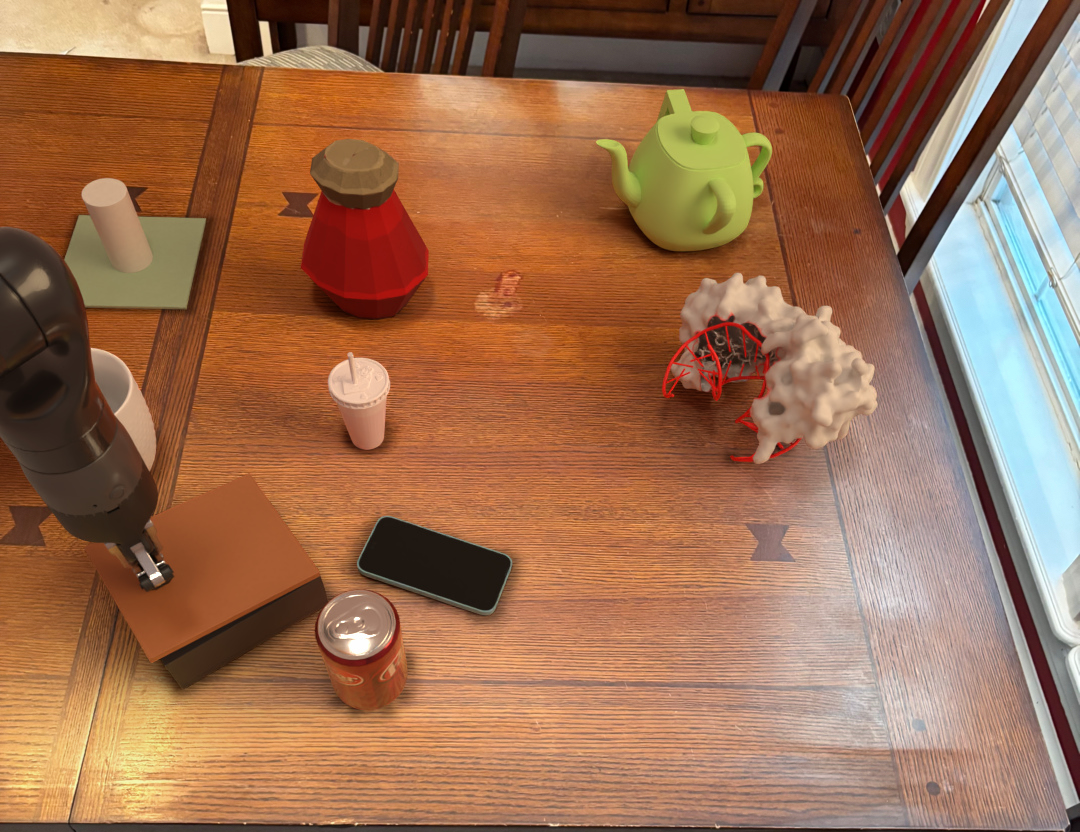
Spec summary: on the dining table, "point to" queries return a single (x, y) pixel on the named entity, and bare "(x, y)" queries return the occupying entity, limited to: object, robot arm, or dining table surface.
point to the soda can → (362, 648)
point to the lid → (208, 567)
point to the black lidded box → (244, 634)
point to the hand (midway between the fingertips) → (159, 579)
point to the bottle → (362, 233)
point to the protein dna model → (772, 363)
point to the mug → (125, 401)
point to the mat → (149, 287)
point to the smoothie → (361, 399)
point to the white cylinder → (117, 224)
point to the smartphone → (435, 565)
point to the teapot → (689, 177)
